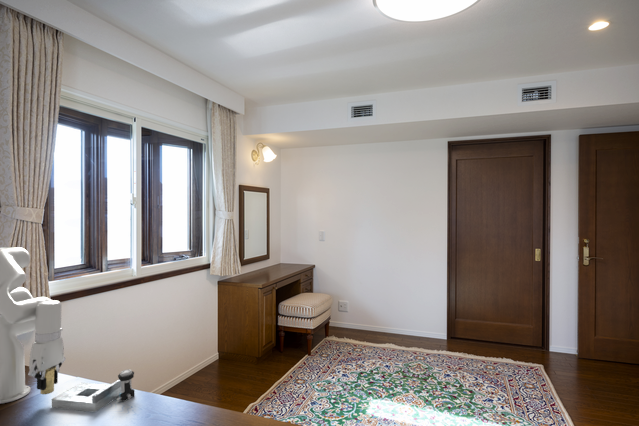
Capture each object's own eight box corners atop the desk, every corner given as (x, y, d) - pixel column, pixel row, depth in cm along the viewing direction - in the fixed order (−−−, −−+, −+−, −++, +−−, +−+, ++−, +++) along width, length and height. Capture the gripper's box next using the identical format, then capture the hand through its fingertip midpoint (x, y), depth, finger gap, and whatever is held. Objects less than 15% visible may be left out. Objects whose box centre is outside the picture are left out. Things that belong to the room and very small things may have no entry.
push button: (121, 405, 134) (121, 377, 134) (111, 402, 137) (111, 374, 136) (138, 396, 140) (137, 369, 140) (128, 393, 143) (127, 367, 142)
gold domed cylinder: (37, 393, 134) (37, 371, 134) (47, 388, 138) (48, 366, 138) (46, 395, 134) (47, 372, 133) (56, 389, 138) (57, 368, 137)
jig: (51, 407, 134) (51, 392, 134) (81, 390, 146) (81, 376, 146) (95, 412, 130) (95, 396, 130) (122, 393, 143) (122, 379, 143)
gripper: (59, 327, 144) (58, 374, 145) (16, 342, 128) (15, 396, 129) (76, 329, 143) (75, 377, 143) (34, 345, 126) (34, 399, 127)
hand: (47, 385), depth 136 cm, fingers closed on gold domed cylinder, 4 cm apart
